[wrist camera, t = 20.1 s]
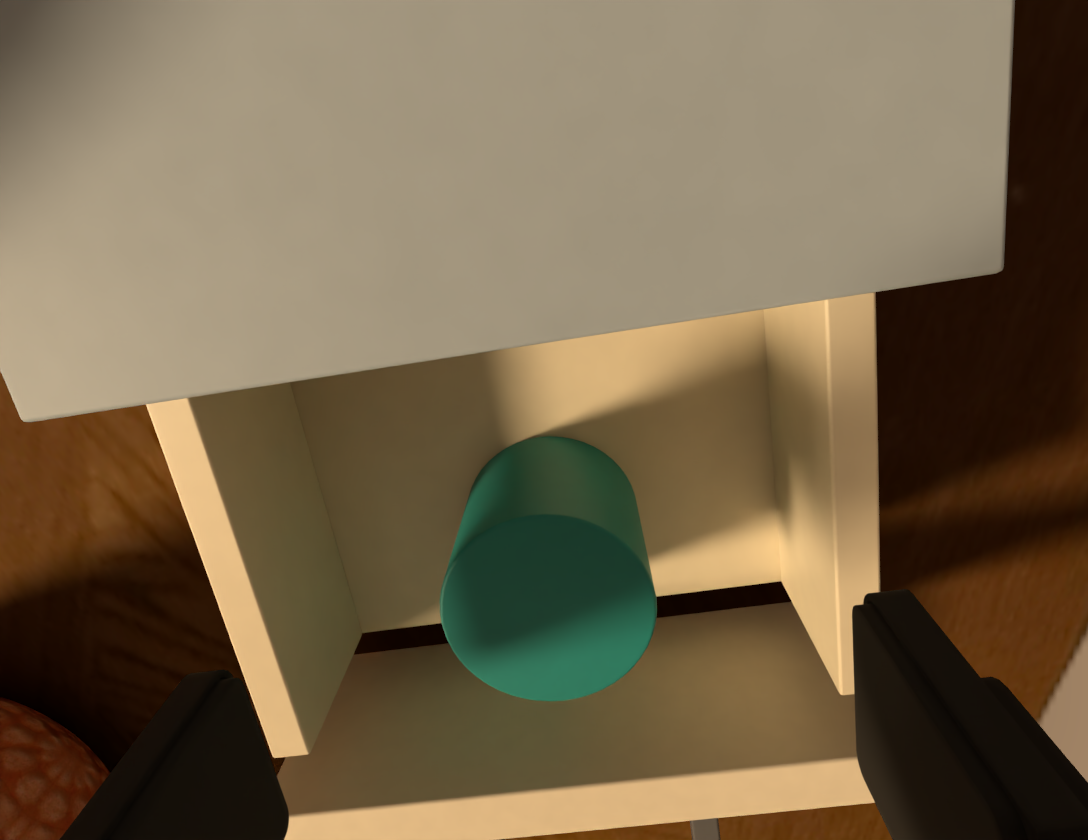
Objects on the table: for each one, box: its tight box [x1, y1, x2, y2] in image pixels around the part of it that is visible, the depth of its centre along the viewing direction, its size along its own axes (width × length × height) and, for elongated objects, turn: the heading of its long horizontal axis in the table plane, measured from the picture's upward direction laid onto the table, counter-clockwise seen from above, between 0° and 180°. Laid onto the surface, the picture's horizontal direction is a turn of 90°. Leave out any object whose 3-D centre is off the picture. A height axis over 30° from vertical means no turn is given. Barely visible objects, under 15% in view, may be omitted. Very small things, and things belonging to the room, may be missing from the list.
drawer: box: [146, 292, 880, 840], centre depth 16 cm, size 19×13×5 cm
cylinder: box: [440, 436, 657, 701], centre depth 15 cm, size 4×4×4 cm
